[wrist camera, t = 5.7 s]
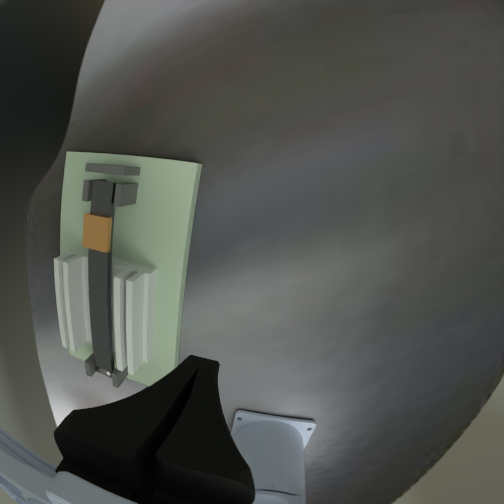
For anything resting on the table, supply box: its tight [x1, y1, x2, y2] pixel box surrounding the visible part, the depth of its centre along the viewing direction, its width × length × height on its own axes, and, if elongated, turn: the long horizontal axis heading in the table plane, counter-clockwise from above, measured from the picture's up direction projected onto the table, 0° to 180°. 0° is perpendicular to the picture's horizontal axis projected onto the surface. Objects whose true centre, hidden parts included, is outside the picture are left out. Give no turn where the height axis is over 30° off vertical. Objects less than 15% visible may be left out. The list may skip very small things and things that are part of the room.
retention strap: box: [83, 181, 118, 378], centre depth 20 cm, size 16×2×1 cm, turn 170°
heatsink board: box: [54, 152, 202, 388], centre depth 21 cm, size 20×12×5 cm, turn 170°
